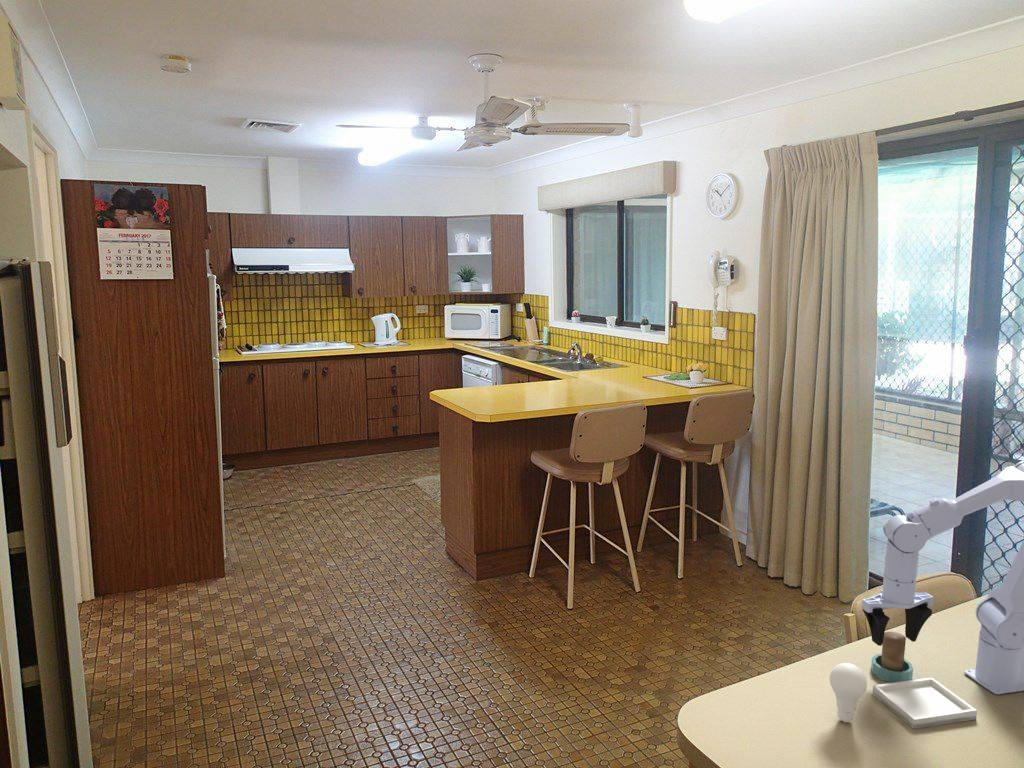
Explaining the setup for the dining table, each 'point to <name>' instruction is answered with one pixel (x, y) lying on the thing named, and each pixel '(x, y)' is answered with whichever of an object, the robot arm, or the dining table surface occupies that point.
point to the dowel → (893, 651)
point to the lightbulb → (847, 688)
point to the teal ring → (891, 675)
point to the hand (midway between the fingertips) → (893, 641)
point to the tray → (924, 703)
